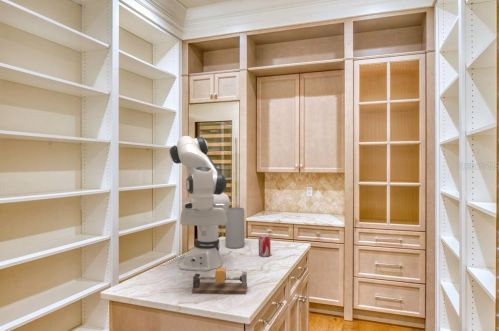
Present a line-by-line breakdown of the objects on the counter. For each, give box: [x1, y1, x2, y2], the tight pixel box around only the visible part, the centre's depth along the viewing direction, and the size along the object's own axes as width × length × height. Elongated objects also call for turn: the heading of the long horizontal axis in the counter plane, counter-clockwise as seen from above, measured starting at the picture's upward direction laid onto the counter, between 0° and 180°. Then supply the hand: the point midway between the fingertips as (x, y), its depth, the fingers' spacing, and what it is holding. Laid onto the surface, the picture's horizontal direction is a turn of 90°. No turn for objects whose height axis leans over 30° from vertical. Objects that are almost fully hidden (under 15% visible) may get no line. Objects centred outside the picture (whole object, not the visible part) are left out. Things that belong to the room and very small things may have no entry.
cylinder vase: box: [224, 206, 245, 249], centre depth 218 cm, size 12×12×25 cm
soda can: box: [258, 234, 271, 258], centre depth 196 cm, size 7×7×12 cm
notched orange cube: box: [214, 267, 227, 283], centre depth 144 cm, size 4×4×5 cm
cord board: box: [191, 271, 248, 295], centre depth 144 cm, size 23×9×8 cm, turn 86°
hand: (204, 235), depth 144 cm, fingers closed
